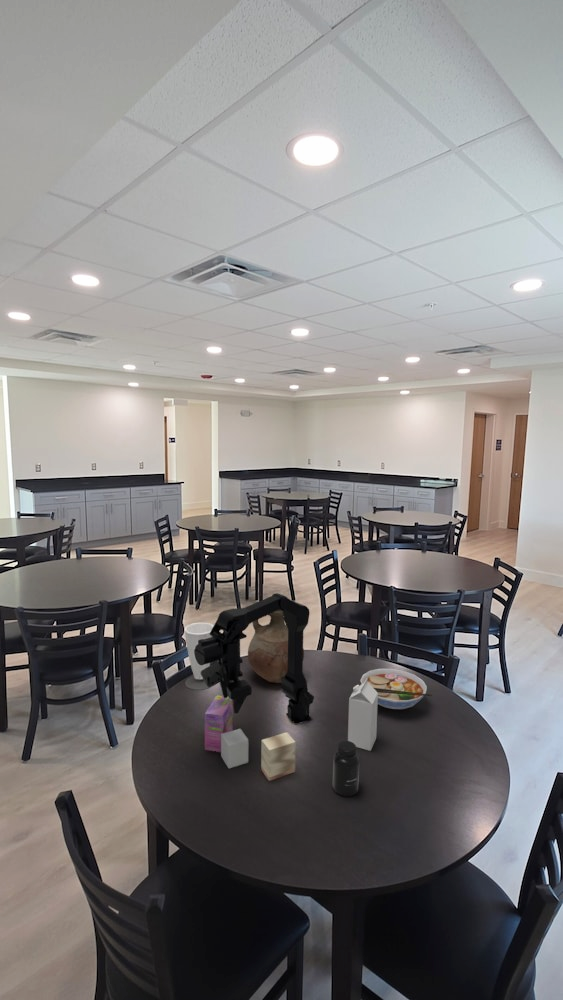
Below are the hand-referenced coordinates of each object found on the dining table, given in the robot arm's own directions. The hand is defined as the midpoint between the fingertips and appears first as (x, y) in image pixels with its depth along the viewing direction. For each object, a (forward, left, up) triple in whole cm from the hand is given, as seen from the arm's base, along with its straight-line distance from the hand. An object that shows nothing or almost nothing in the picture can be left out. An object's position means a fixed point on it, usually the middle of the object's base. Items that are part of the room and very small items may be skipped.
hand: (230, 705), depth 141 cm
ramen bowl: (-60, +2, -14) cm, 62 cm away
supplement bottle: (-21, +29, -14) cm, 38 cm away
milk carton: (-37, +15, -14) cm, 43 cm away
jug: (-31, -32, -14) cm, 47 cm away
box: (+2, -5, -14) cm, 15 cm away
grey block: (+1, +5, -14) cm, 15 cm away
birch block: (-8, +15, -14) cm, 22 cm away
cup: (-4, -42, -14) cm, 45 cm away
